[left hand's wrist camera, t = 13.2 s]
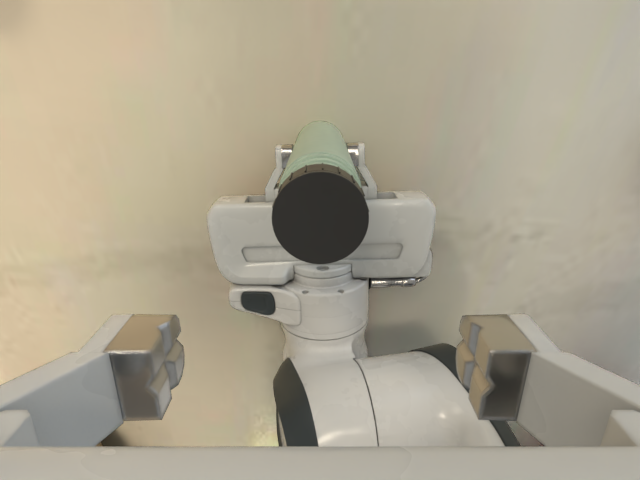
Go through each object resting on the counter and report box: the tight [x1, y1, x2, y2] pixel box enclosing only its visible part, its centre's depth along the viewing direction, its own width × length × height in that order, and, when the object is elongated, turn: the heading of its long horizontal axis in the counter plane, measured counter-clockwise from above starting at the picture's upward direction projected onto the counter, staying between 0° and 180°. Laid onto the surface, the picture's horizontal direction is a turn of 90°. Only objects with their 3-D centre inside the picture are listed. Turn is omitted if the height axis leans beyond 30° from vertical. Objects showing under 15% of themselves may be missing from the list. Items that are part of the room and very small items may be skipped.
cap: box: [272, 163, 369, 264], centre depth 20 cm, size 4×5×2 cm
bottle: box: [279, 121, 361, 188], centre depth 30 cm, size 5×5×23 cm
